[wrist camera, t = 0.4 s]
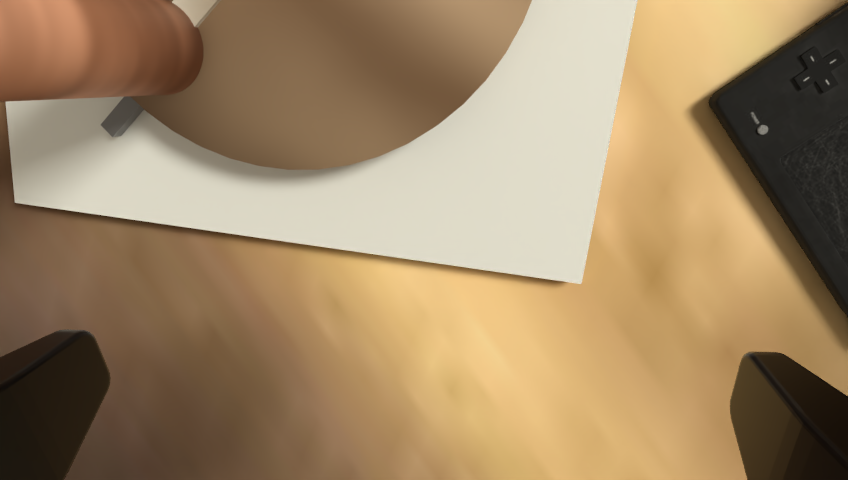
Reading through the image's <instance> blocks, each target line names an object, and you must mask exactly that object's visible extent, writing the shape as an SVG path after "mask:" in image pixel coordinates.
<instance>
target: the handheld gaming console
mask: <svg viewBox="0 0 848 480" xmlns="http://www.w3.org/2000/svg"><path fill="white" fill-rule="evenodd" d="M709 105H710V107H711V109H712V110H713V112H714V113H715V115H716V117H717V118H718V120H719V121H720V123H721V124H722V126H723V127H724V129H725V130H726V132H727V133H728V135H729V137H730V138H731V140H732V141H733V143H734V144H735V146H736V147H737V149H738V150H739V152H740V154H741V155H742V157H743V158H744V160H745V161H746V163H747V164H748V166H749V167H750V169H751V170H752V172H753V174H754V175H755V177H756V178H757V180H758V181H759V183H760V184H761V186H762V187H763V189H764V190H765V192H766V194H767V195H768V197H769V198H770V200H771V201H772V203H773V204H774V206H775V207H776V209H777V211H778V212H779V214H780V215H781V217H782V218H783V220H784V221H785V223H786V224H787V226H788V227H789V229H790V231H791V232H792V234H793V235H794V237H795V238H796V240H797V241H798V243H799V244H800V246H801V247H802V249H803V251H804V252H805V254H806V255H807V257H808V258H809V260H810V261H811V263H812V264H813V266H814V268H815V269H816V271H817V272H818V274H819V275H820V277H821V278H822V280H823V281H824V283H825V284H826V286H827V288H828V289H829V291H830V292H831V294H832V295H833V297H834V298H835V300H836V301H837V303H838V304H839V306H840V308H841V309H842V310H843V311H844V312H845V314H846V315H847V317H848V3H846V4H844V5H843V6H841V7H840V8H839V9H837V10H836V11H834V12H833V13H831V14H830V15H828V16H827V17H825V18H824V19H822V20H821V21H819V22H818V23H816V24H815V25H814V26H813V27H811V28H810V29H808V30H807V31H806V32H804V33H803V34H801V35H800V36H798V37H797V38H795V39H794V40H792V41H791V42H789V43H788V44H786V45H785V46H783V47H782V48H780V49H779V50H777V51H776V52H775V53H773V54H772V55H770V56H769V57H767V58H766V59H764V60H763V61H761V62H760V63H758V64H757V65H755V66H754V67H752V68H751V69H749V70H748V71H747V72H745V73H744V74H742V75H741V76H739V77H738V78H736V79H735V80H733V81H732V82H730V83H729V84H727V85H726V86H724V87H723V88H721V89H720V90H718V91H717V92H716V93H714V94H713V95H712V97H711V98H710V100H709Z"/></svg>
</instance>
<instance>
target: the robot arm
mask: <svg viewBox="0 0 848 480" xmlns="http://www.w3.org/2000/svg"><path fill="white" fill-rule="evenodd" d="M109 385H110V372H109V369H108V367H107V365H106V362H105V360H104V358H103V355H102V353H101V350H100V348H99V346H98V343H97V341H96V339H95V337H94V336H93V335H92V334H91V333H90V332H88V331H85V330H59V331H56V332H54V333H52V334H50V335H47V336H45V337H43V338H41V339H39V340H37V341H34V342H32V343H30V344H28V345H26V346H24V347H21V348H19V349H17V350H15V351H13V352H11V353H8V354H6V355H4V356H2V357H0V480H64V479H65V477H66V475H67V473H68V471H69V469H70V467H71V465H72V463H73V461H74V459H75V457H76V455H77V452H78V450H79V448H80V446H81V444H82V442H83V440H84V438H85V436H86V434H87V432H88V430H89V428H90V426H91V424H92V422H93V420H94V418H95V416H96V414H97V412H98V410H99V407H100V405H101V403H102V401H103V399H104V397H105V395H106V393H107V391H108V389H109ZM730 414H731V420H732V424H733V427H734V431H735V435H736V439H737V442H738V446H739V450H740V454H741V457H742V461H743V465H744V469H745V472H746V476H747V480H848V396H846V395H845V394H843V393H842V392H840V391H839V390H837V389H836V388H834V387H833V386H831V385H830V384H828V383H827V382H825V381H824V380H822V379H821V378H819V377H818V376H816V375H815V374H813V373H812V372H810V371H809V370H807V369H806V368H804V367H803V366H801V365H800V364H798V363H797V362H795V361H794V360H792V359H791V358H789V357H787V356H786V355H784V354H782V353H777V352H748V353H746V354H745V355H744V356H743V358H742V360H741V362H740V366H739V370H738V373H737V377H736V381H735V384H734V388H733V392H732V396H731V400H730Z"/></svg>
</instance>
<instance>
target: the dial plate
mask: <svg viewBox="0 0 848 480" xmlns="http://www.w3.org/2000/svg"><path fill="white" fill-rule="evenodd" d="M636 5H637V0H532V1H531V4H530V6H529V9H528V11H527V14H526V16H525V19H524V21H523V23H522V25H521V27H520V29H519V31H518V32H517V34H516V36H515V38H514V40H513V41H512V43H511V45H510V47H509V49H508V50H507V52H506V54H505V55H504V56H503V58H502V59H501V61H500V62H499V63H498V65H497V66H496V67H495V69H494V70H493V72H492V73H491V74H490V76H489V77H488V78H487V80H486V81H485V82H484V83H483V84H482V85H481V86H480V87H479V88H478V89H477V90H476V92H475V93H474V94H473V95H472V96H471V97H470V98H469V99H468V100H467V101H466V102H465V103H464V104H463V105H462V106H461V107H459V108H458V109H457V110H456V111H455V112H453V113H452V114H451V115H450V116H448V117H447V118H446V119H445V120H443V121H442V122H441V123H440V124H439V125H437V126H436V127H434V128H433V129H431V130H429V131H428V132H426V133H424V134H423V135H421V136H420V137H418V138H416V139H415V140H413V141H411V142H410V143H408V144H406V145H404V146H402V147H399V148H397V149H395V150H393V151H390V152H388V153H386V154H383V155H381V156H379V157H376V158H372V159H369V160H365V161H362V162H358V163H355V164H351V165H347V166H340V167H333V168H326V169H319V170H286V169H279V168H271V167H263V166H257V165H253V164H249V163H245V162H242V161H238V160H234V159H230V158H227V157H225V156H222V155H220V154H218V153H215V152H213V151H210V150H208V149H205V148H203V147H200V146H199V145H197V144H195V143H193V142H191V141H190V140H188V139H186V138H184V137H183V136H181V135H179V134H177V133H175V132H174V131H172V130H171V129H169V128H168V127H167V126H165V125H164V124H163V123H161V122H160V121H158V120H157V119H156V118H154V117H153V116H152V115H150V114H149V113H148V112H146V111H145V110H144V109H143V108H142V107H141V106H140V105H139V104H138V103H137V102H136V101H135V100H133V99H132V98H131V97H130V96H126V97H102V98H78V99H54V100H31V101H7V102H6V113H7V123H8V134H9V145H10V156H11V166H12V177H13V188H14V198H15V203H20V204H27V205H34V206H41V207H48V208H55V209H62V210H69V211H76V212H83V213H90V214H97V215H103V216H110V217H117V218H124V219H131V220H138V221H145V222H152V223H159V224H166V225H173V226H180V227H187V228H194V229H201V230H208V231H215V232H222V233H229V234H236V235H243V236H250V237H257V238H264V239H271V240H278V241H285V242H292V243H299V244H306V245H313V246H320V247H327V248H334V249H341V250H348V251H355V252H361V253H368V254H375V255H382V256H389V257H396V258H403V259H410V260H417V261H424V262H431V263H438V264H445V265H452V266H459V267H466V268H473V269H480V270H487V271H494V272H501V273H508V274H515V275H522V276H529V277H536V278H543V279H550V280H557V281H564V282H571V283H578V284H582V278H583V273H584V268H585V263H586V258H587V253H588V248H589V243H590V238H591V233H592V228H593V223H594V218H595V213H596V207H597V202H598V197H599V192H600V187H601V182H602V177H603V172H604V167H605V162H606V157H607V152H608V147H609V142H610V136H611V131H612V126H613V121H614V116H615V111H616V106H617V101H618V96H619V91H620V86H621V81H622V76H623V71H624V65H625V60H626V55H627V50H628V45H629V40H630V35H631V30H632V25H633V20H634V15H635V10H636Z"/></svg>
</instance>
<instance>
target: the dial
mask: <svg viewBox="0 0 848 480" xmlns="http://www.w3.org/2000/svg"><path fill="white" fill-rule="evenodd" d="M531 1H532V0H0V102H7V101H31V100H54V99H78V98H102V97H126V96H130V97H131V98H132V99H133V100H135V101H136V102H137V103H138V104H139V105H140V106H141V107H142V108H143V109H144V110H145V111H146V112H148V113H149V114H150V115H152V116H153V117H154V118H156V119H157V120H158V121H160V122H161V123H163V124H164V125H165V126H167V127H168V128H169V129H171V130H172V131H174V132H175V133H177V134H179V135H181V136H183V137H184V138H186V139H188V140H190V141H191V142H193V143H195V144H197V145H199V146H200V147H203V148H205V149H208V150H210V151H213V152H215V153H218V154H220V155H222V156H225V157H227V158H230V159H234V160H238V161H242V162H245V163H249V164H253V165H257V166H263V167H271V168H279V169H286V170H319V169H326V168H333V167H340V166H347V165H351V164H355V163H358V162H362V161H365V160H369V159H372V158H376V157H379V156H381V155H383V154H386V153H388V152H390V151H393V150H395V149H397V148H399V147H402V146H404V145H406V144H408V143H410V142H411V141H413V140H415V139H416V138H418V137H420V136H421V135H423V134H424V133H426V132H428V131H429V130H431V129H433V128H434V127H436V126H437V125H439V124H440V123H441V122H442V121H443V120H445V119H446V118H447V117H448V116H450V115H451V114H452V113H453V112H455V111H456V110H457V109H458V108H459V107H461V106H462V105H463V104H464V103H465V102H466V101H467V100H468V99H469V98H470V97H471V96H472V95H473V94H474V93H475V92H476V90H477V89H478V88H479V87H480V86H481V85H482V84H483V83H484V82H485V81H486V80H487V78H488V77H489V76H490V74H491V73H492V72H493V70H494V69H495V67H496V66H497V65H498V63H499V62H500V61H501V59H502V58H503V56H504V55H505V54H506V52H507V50H508V49H509V47H510V45H511V43H512V41H513V40H514V38H515V36H516V34H517V32H518V31H519V29H520V27H521V25H522V23H523V21H524V19H525V16H526V14H527V11H528V9H529V6H530V4H531Z"/></svg>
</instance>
